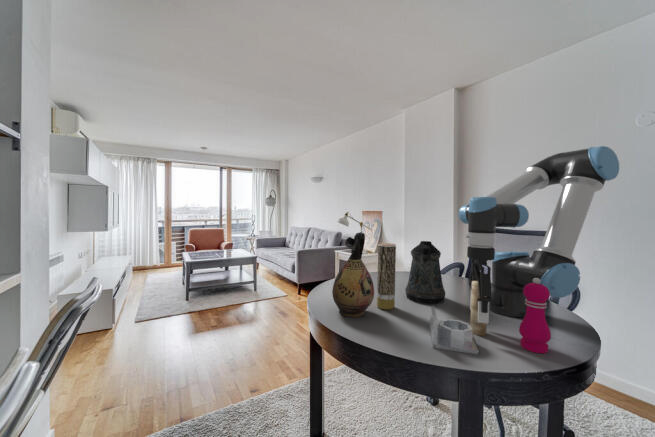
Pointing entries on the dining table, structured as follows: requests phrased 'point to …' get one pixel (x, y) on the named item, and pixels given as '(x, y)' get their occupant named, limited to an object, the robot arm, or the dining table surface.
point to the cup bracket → (452, 335)
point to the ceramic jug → (353, 281)
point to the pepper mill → (535, 318)
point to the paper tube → (386, 276)
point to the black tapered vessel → (425, 275)
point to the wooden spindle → (476, 312)
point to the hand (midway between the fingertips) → (478, 315)
